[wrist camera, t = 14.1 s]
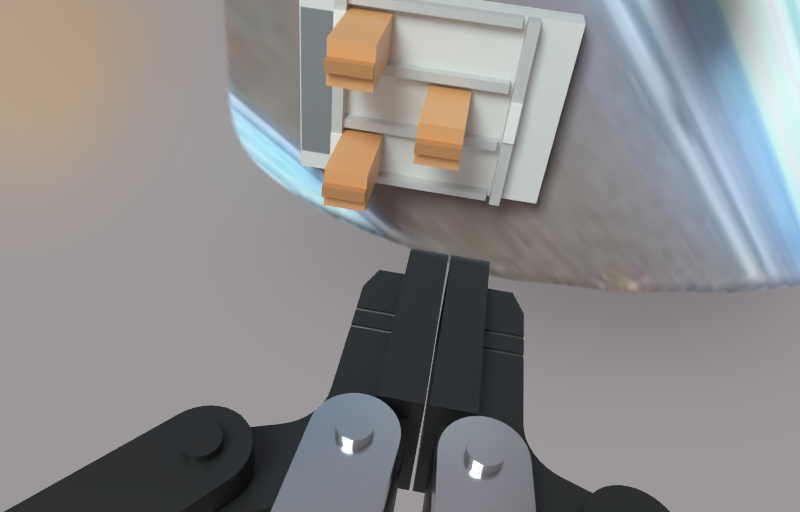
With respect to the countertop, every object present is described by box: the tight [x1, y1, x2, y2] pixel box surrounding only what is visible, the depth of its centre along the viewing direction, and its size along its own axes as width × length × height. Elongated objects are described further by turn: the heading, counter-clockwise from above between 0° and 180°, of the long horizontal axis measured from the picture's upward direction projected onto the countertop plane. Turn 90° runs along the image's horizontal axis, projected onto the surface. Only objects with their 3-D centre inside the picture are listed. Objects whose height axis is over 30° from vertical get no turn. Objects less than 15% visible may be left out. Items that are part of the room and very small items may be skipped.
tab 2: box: [322, 129, 383, 212], centre depth 45 cm, size 3×3×7 cm
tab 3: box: [413, 85, 472, 171], centre depth 42 cm, size 3×3×7 cm
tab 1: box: [324, 7, 393, 93], centre depth 40 cm, size 3×3×7 cm
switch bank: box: [299, 0, 586, 206], centre depth 45 cm, size 19×14×3 cm
